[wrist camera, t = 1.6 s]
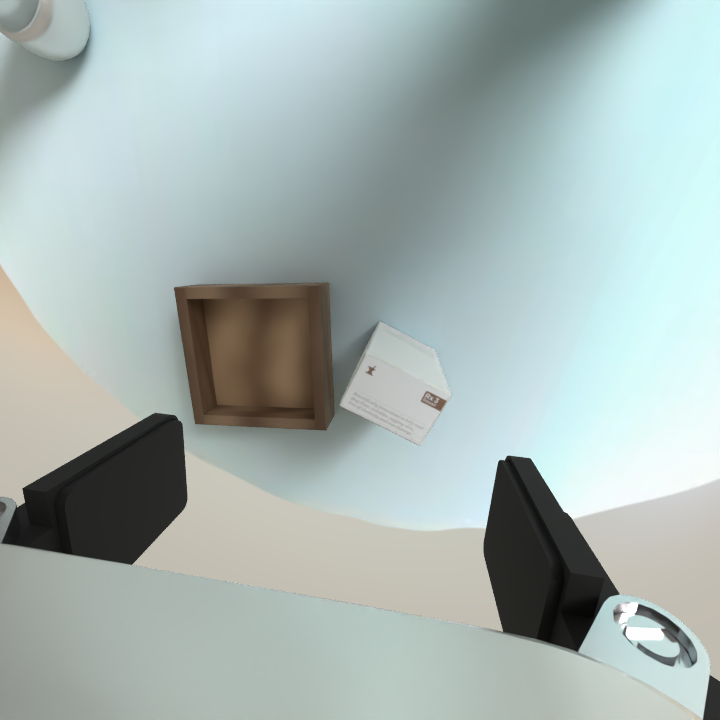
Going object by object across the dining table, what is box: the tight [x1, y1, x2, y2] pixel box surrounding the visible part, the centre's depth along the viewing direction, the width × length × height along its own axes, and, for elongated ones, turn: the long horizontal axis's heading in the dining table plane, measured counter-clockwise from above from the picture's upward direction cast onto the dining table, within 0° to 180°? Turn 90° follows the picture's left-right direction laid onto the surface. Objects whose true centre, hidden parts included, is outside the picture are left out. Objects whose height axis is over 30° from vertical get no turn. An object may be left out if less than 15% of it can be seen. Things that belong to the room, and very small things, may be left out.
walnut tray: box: [174, 283, 334, 430], centre depth 34 cm, size 13×13×4 cm
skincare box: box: [340, 322, 451, 446], centre depth 28 cm, size 6×4×12 cm
